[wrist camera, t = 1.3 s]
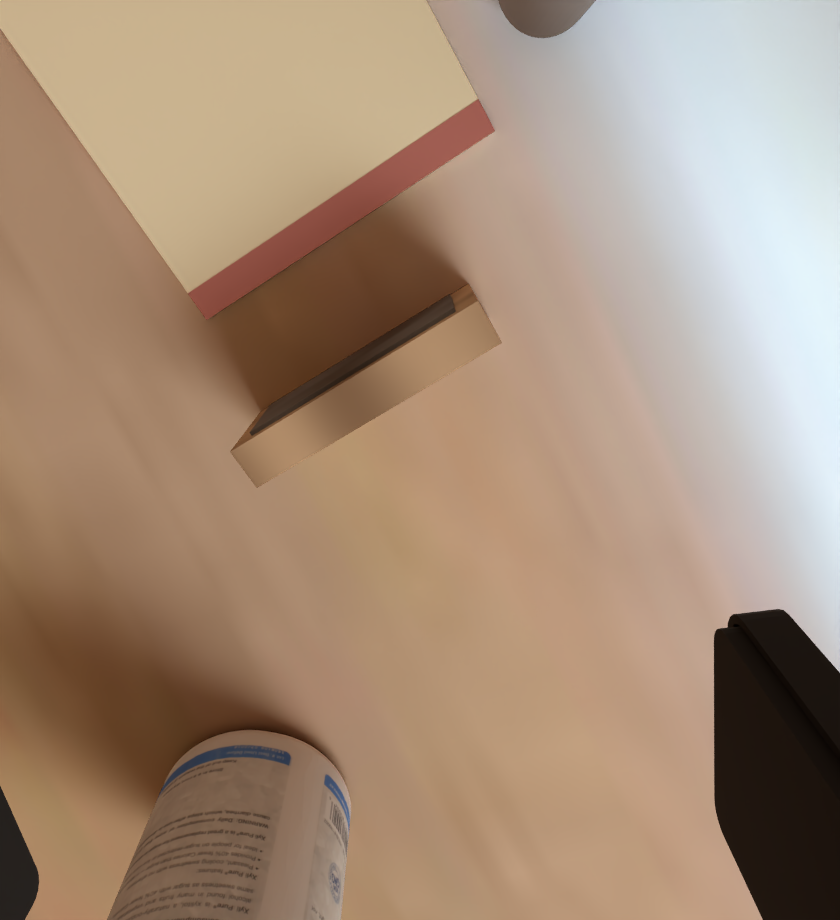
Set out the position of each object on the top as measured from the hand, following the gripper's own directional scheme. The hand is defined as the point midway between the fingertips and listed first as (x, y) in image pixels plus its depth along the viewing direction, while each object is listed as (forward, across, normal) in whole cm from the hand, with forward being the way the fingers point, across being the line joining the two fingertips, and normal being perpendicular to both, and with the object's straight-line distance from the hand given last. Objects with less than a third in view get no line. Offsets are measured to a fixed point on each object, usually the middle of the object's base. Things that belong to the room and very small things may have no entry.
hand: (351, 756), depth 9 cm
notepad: (+21, +4, -13) cm, 25 cm away
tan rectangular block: (+21, +1, 0) cm, 21 cm away
